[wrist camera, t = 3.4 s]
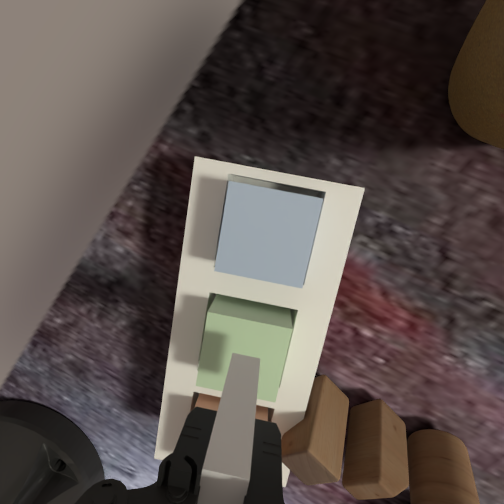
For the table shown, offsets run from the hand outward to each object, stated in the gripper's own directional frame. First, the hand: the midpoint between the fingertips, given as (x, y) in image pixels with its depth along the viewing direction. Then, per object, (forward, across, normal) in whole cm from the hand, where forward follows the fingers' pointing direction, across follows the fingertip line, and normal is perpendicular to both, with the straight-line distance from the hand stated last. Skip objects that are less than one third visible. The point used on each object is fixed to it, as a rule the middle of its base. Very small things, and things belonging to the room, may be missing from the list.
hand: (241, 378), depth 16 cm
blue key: (+5, 0, +7) cm, 9 cm away
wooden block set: (+8, +13, -9) cm, 18 cm away
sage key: (+5, 0, 0) cm, 5 cm away
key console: (+8, 0, 0) cm, 8 cm away
